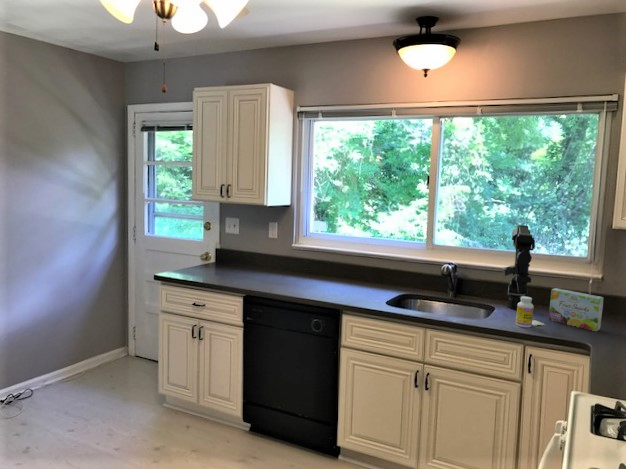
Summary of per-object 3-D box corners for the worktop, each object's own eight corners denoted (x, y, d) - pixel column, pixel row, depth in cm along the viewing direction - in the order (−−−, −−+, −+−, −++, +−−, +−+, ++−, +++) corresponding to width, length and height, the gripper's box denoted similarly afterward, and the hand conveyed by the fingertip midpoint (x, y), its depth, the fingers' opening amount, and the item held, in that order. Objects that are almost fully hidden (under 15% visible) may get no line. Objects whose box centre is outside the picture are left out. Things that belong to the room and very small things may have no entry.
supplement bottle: (521, 328, 237) (524, 299, 236) (512, 323, 243) (515, 295, 242) (534, 327, 239) (537, 299, 237) (525, 323, 245) (527, 295, 244)
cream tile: (535, 321, 249) (535, 320, 249) (544, 325, 244) (544, 323, 244) (524, 322, 247) (524, 320, 247) (533, 325, 242) (533, 324, 242)
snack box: (547, 320, 252) (550, 289, 250) (552, 318, 256) (555, 287, 254) (596, 332, 237) (600, 298, 235) (600, 329, 241) (604, 296, 239)
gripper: (502, 256, 265) (499, 288, 266) (506, 262, 247) (503, 296, 248) (526, 258, 262) (523, 290, 264) (532, 264, 244) (529, 298, 246)
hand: (519, 293), depth 256 cm, fingers closed
